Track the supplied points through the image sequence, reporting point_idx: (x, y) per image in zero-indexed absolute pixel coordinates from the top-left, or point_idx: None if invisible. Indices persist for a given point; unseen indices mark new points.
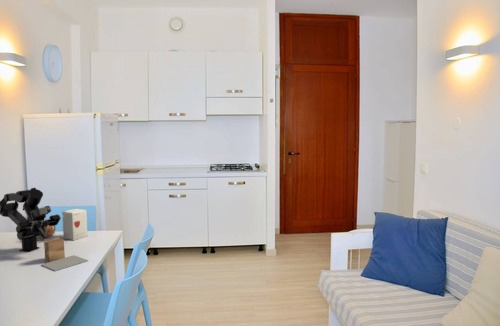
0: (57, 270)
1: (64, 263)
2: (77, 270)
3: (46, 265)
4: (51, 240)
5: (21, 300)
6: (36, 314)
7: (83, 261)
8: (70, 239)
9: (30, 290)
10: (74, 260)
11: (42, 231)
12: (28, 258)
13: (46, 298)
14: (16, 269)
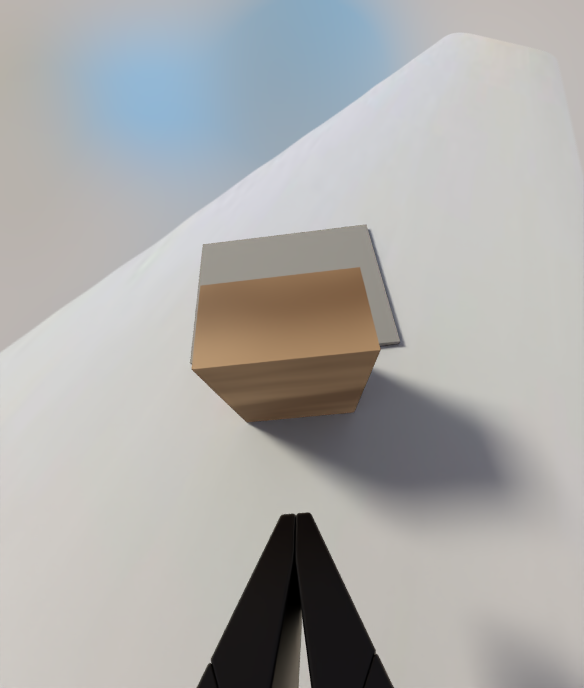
0: (355, 228)
1: (297, 273)
2: (295, 190)
3: (379, 306)
4: (299, 332)
5: (517, 104)
6: (484, 51)
7: (226, 242)
8: None
9: (487, 139)
10: (242, 280)
11: (336, 640)
12: (450, 615)
13: (449, 89)
14: (550, 387)
